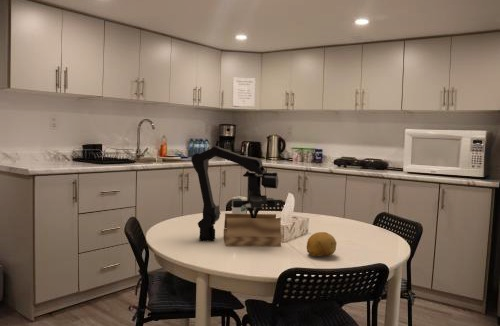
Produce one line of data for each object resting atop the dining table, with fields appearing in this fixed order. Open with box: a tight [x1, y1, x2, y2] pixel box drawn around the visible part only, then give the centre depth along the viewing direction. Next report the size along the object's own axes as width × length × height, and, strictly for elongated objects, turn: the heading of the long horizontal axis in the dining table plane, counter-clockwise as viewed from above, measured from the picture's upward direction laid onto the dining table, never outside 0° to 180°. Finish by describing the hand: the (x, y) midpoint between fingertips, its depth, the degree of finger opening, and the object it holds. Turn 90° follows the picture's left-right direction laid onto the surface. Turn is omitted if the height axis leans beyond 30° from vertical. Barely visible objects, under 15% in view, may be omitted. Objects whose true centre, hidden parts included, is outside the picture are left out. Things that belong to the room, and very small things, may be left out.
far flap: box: [223, 212, 277, 229], centre depth 200 cm, size 8×24×1 cm
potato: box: [306, 231, 337, 257], centre depth 176 cm, size 10×12×10 cm
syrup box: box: [231, 195, 248, 214], centre depth 226 cm, size 6×6×14 cm
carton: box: [223, 228, 282, 247], centre depth 194 cm, size 24×15×4 cm, turn 98°
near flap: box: [226, 217, 282, 238], centre depth 187 cm, size 8×24×1 cm
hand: (253, 221), depth 190 cm, fingers closed, pressing on near flap
